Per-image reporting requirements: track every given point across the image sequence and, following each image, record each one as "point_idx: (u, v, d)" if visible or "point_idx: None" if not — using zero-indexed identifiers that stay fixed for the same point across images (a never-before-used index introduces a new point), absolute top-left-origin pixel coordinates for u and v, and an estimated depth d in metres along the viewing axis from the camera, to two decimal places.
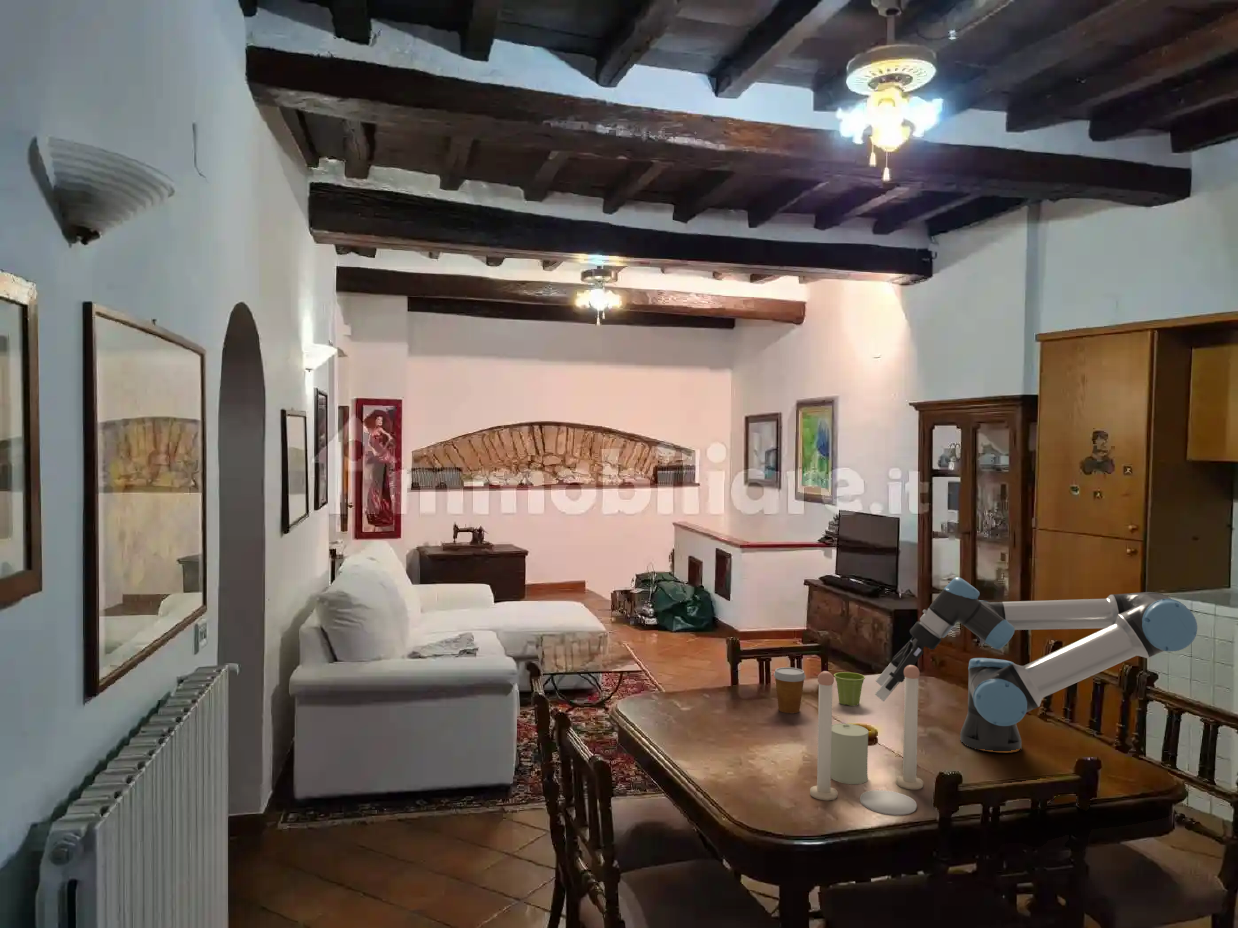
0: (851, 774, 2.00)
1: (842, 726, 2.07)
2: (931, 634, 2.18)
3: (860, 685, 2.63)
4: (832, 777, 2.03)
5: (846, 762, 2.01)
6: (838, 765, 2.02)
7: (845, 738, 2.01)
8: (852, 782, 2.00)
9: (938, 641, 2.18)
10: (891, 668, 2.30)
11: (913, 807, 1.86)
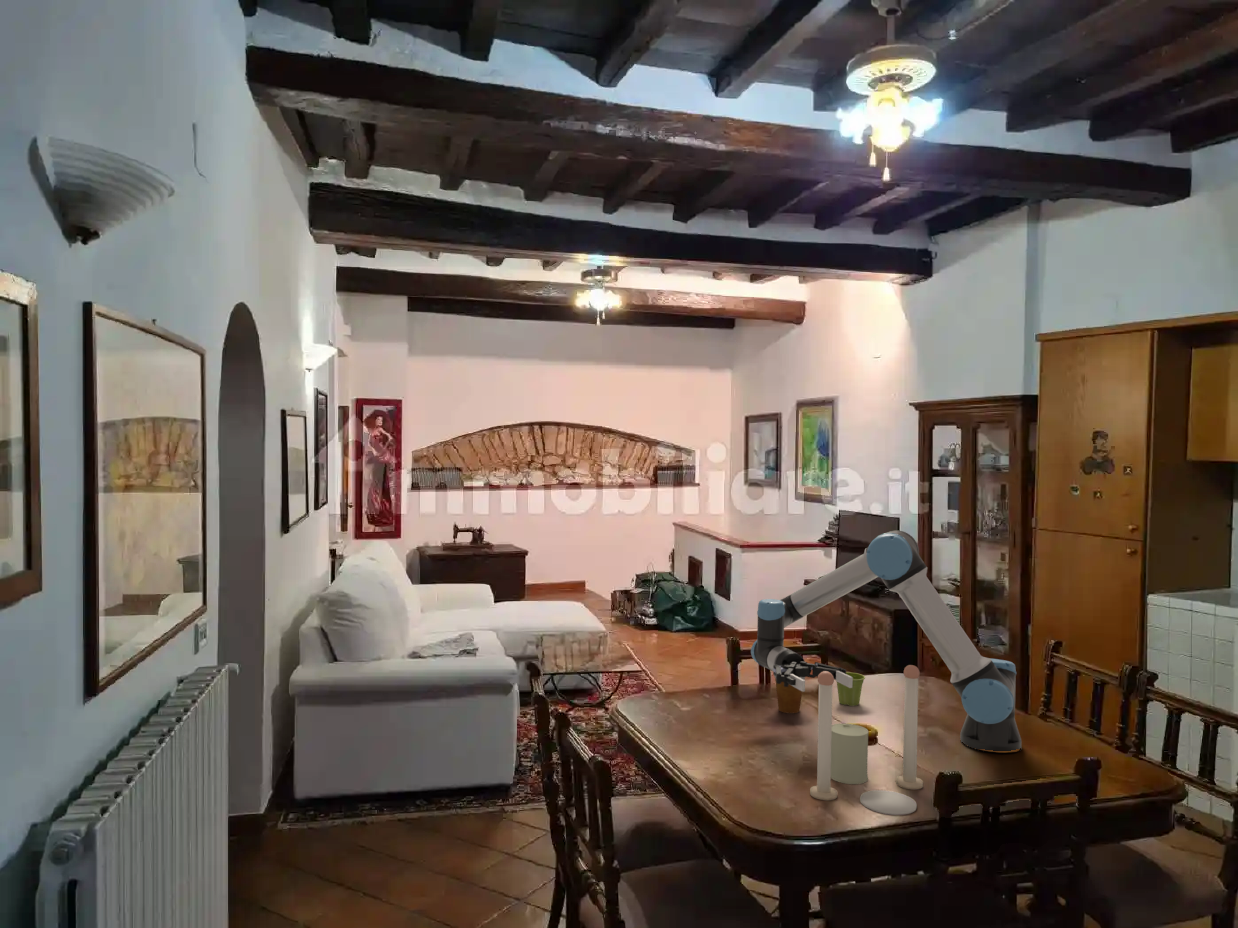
0: (851, 774, 2.00)
1: (842, 726, 2.07)
2: None
3: (860, 685, 2.63)
4: (832, 777, 2.03)
5: (846, 762, 2.01)
6: (838, 765, 2.02)
7: (845, 738, 2.01)
8: (852, 782, 2.00)
9: (781, 653, 2.32)
10: (838, 678, 2.21)
11: (913, 807, 1.86)
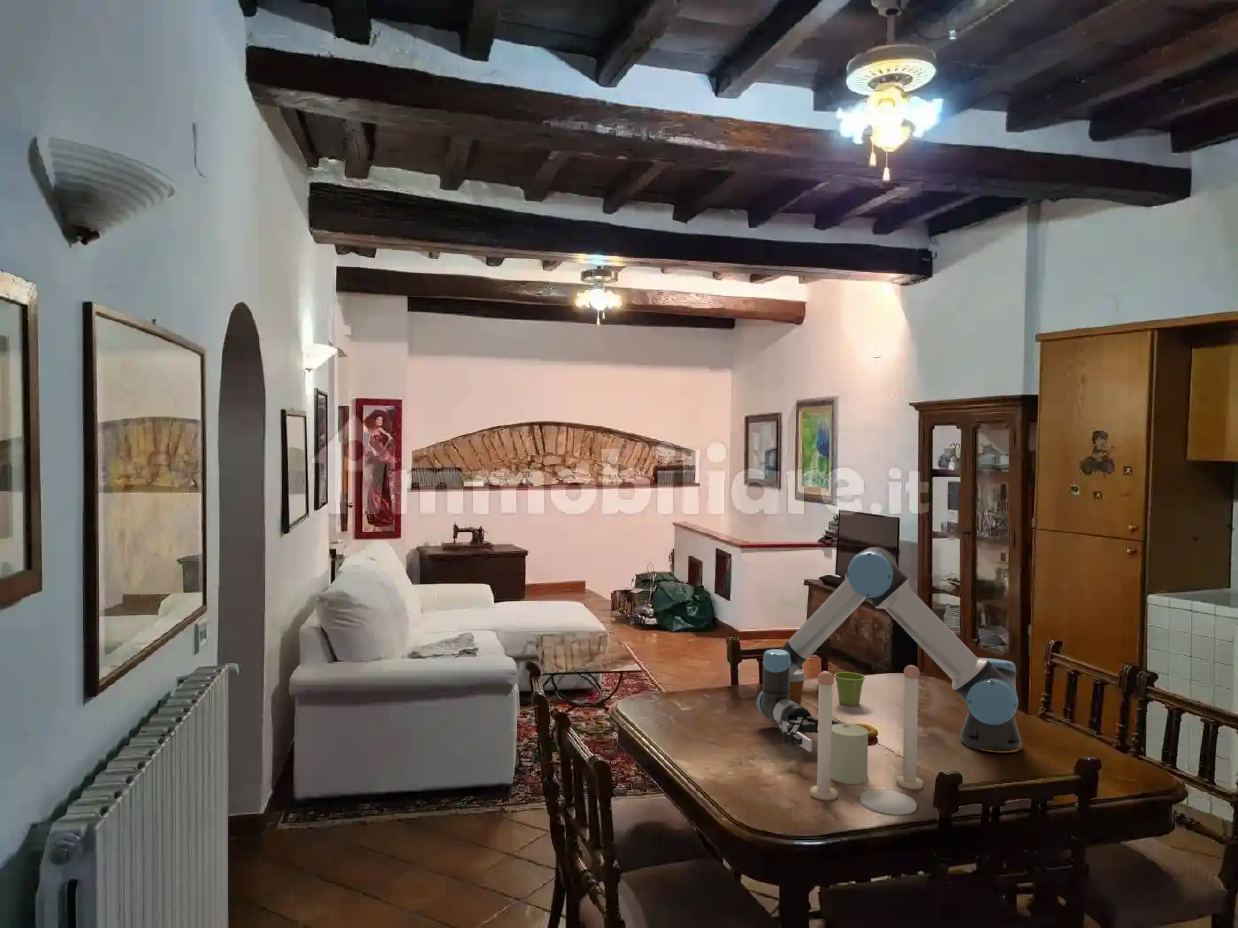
0: (851, 774, 2.00)
1: (842, 726, 2.07)
2: None
3: (860, 685, 2.63)
4: (832, 777, 2.03)
5: (846, 762, 2.01)
6: (838, 765, 2.02)
7: (845, 738, 2.01)
8: (852, 782, 2.00)
9: (787, 707, 2.28)
10: None
11: (913, 807, 1.86)
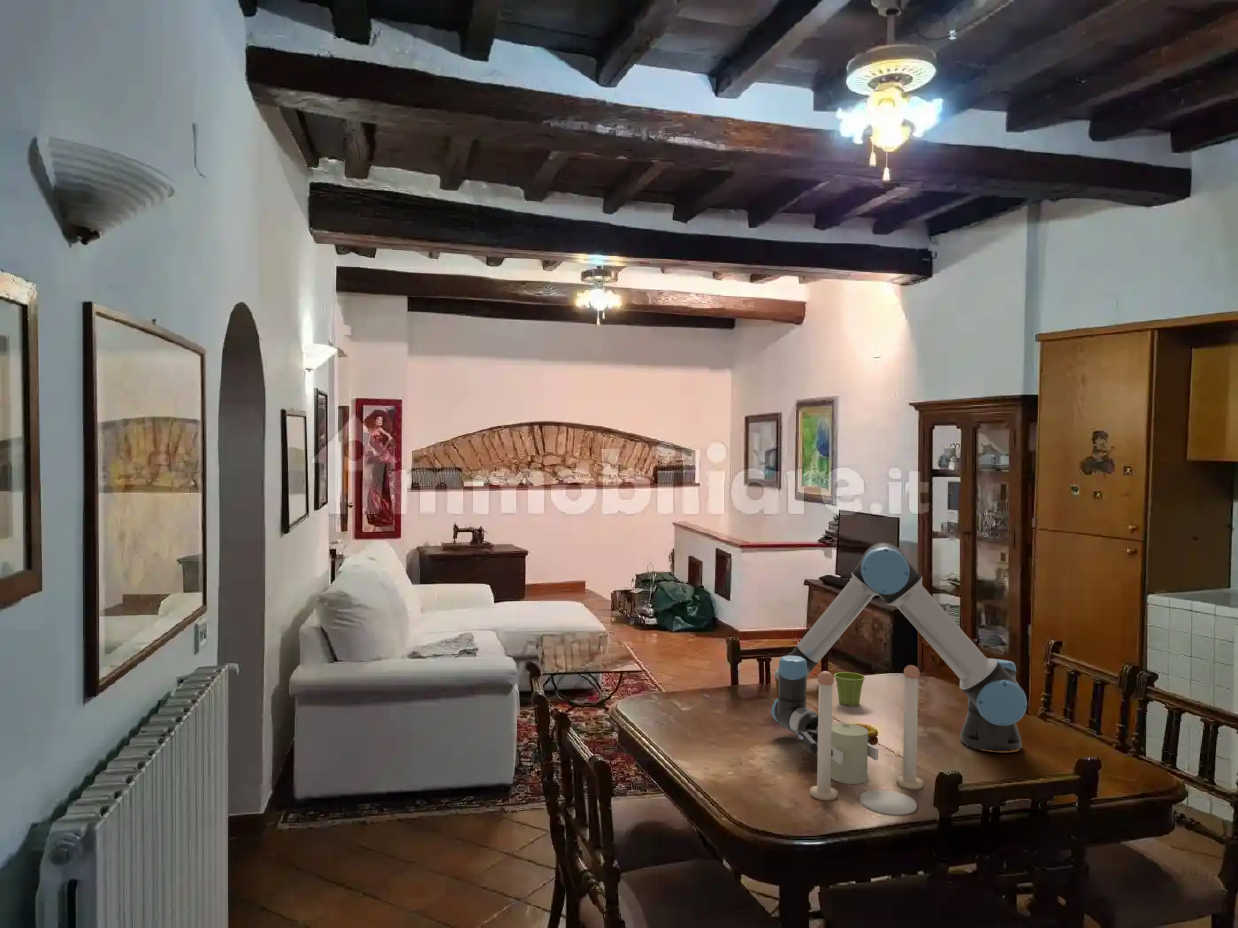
0: (851, 774, 2.00)
1: (842, 726, 2.07)
2: None
3: (860, 685, 2.63)
4: (832, 777, 2.03)
5: (846, 761, 2.01)
6: (838, 765, 2.02)
7: (845, 738, 2.01)
8: (852, 782, 2.00)
9: (804, 716, 2.20)
10: None
11: (913, 807, 1.86)
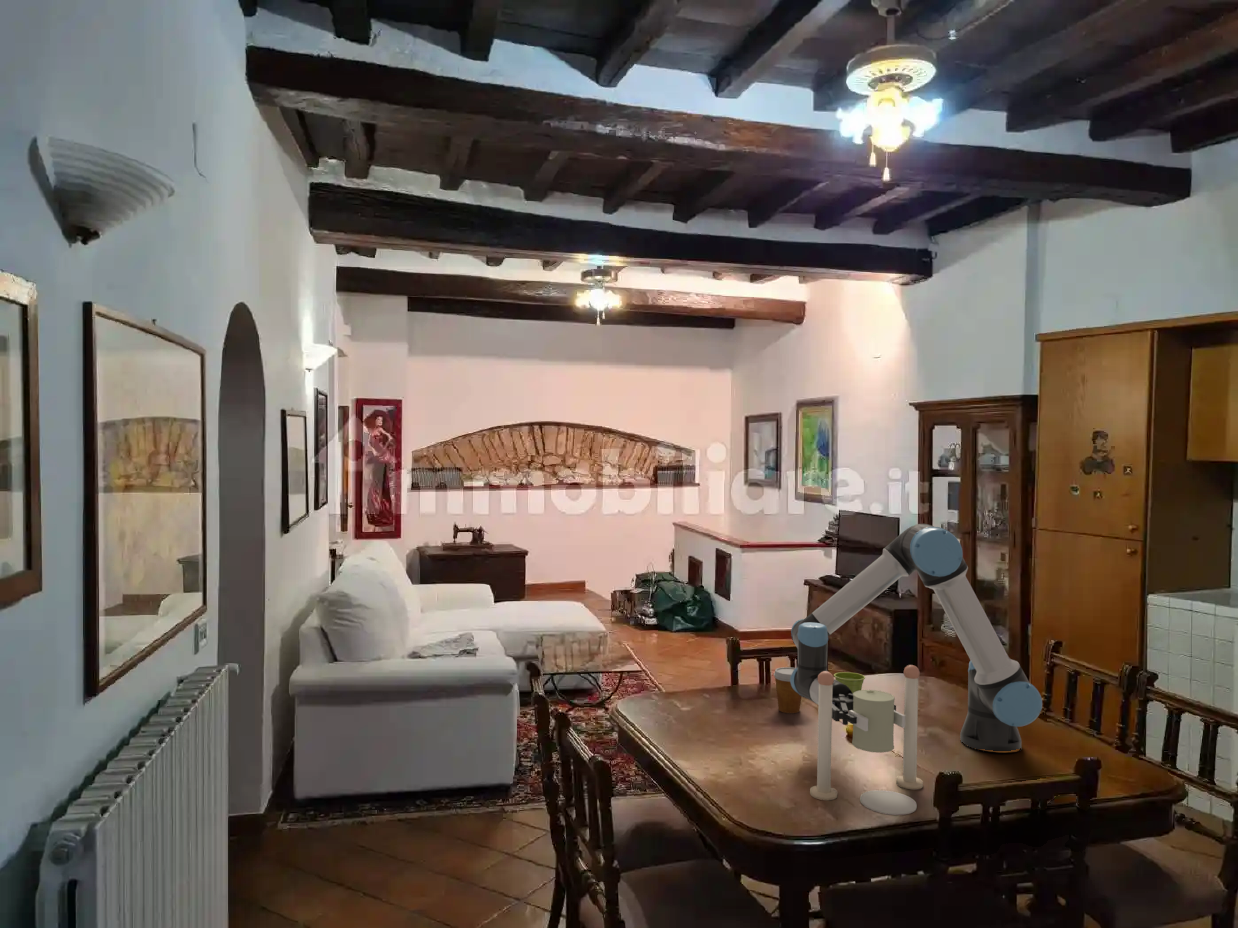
0: (877, 742, 1.89)
1: (866, 692, 1.96)
2: None
3: (860, 685, 2.63)
4: (856, 746, 1.92)
5: (871, 729, 1.90)
6: (863, 733, 1.91)
7: (870, 704, 1.90)
8: (878, 750, 1.89)
9: None
10: None
11: (913, 807, 1.86)
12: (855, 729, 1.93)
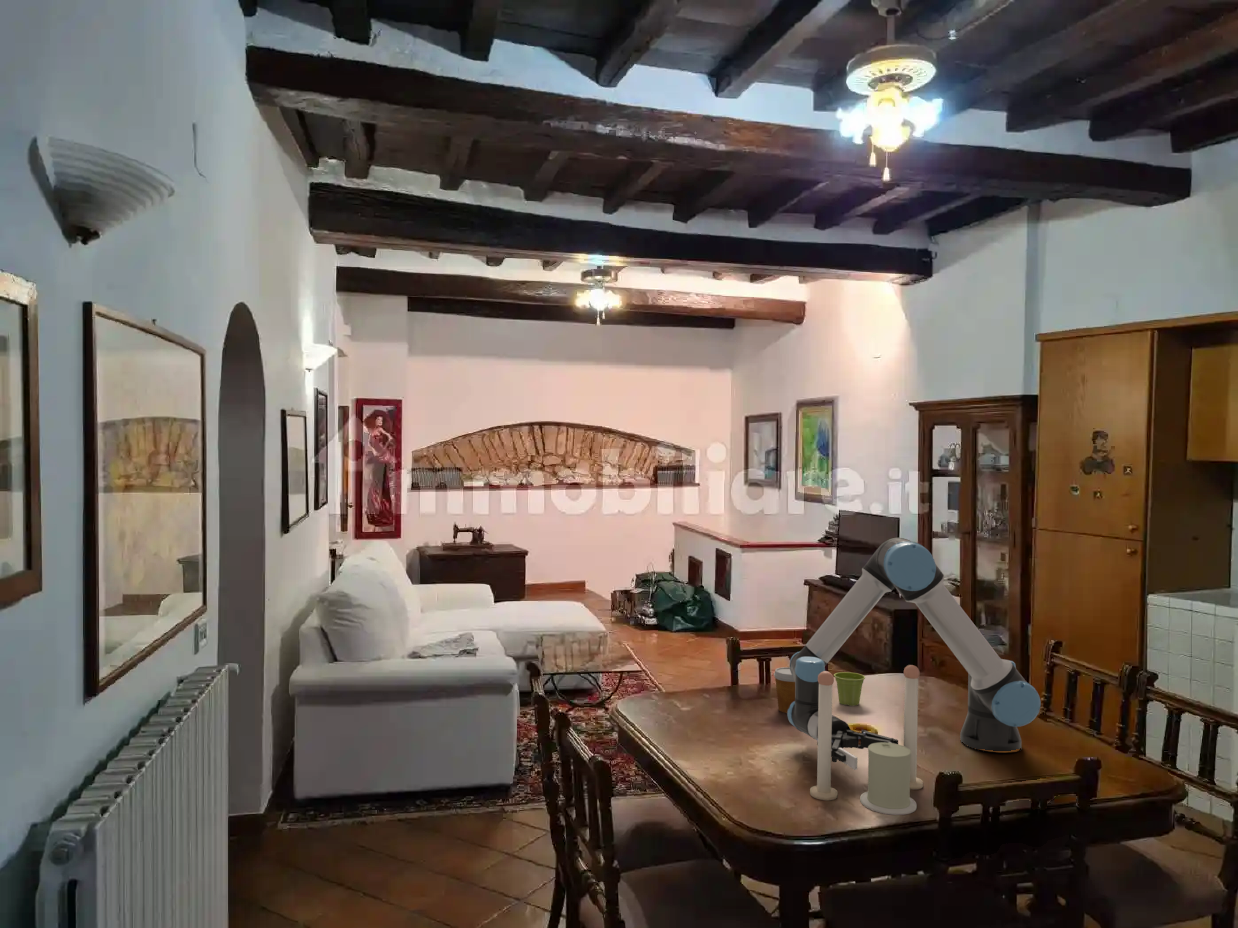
0: (893, 798, 1.85)
1: (881, 745, 1.92)
2: None
3: (860, 685, 2.63)
4: (872, 801, 1.88)
5: (887, 784, 1.85)
6: (878, 788, 1.86)
7: (886, 759, 1.85)
8: (894, 807, 1.85)
9: None
10: None
11: (913, 807, 1.86)
12: (870, 784, 1.88)
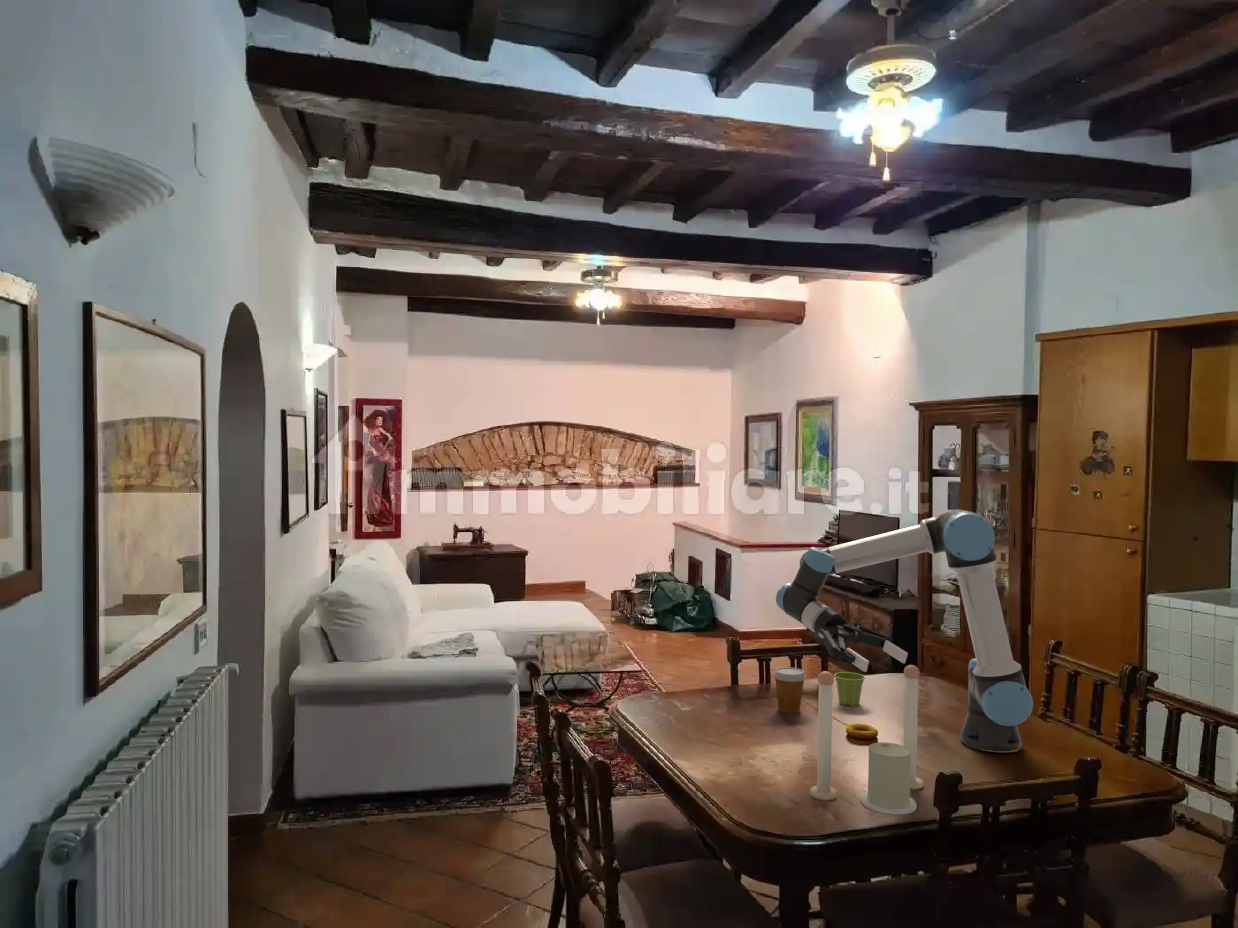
0: (893, 798, 1.85)
1: (882, 745, 1.92)
2: (815, 621, 2.17)
3: (860, 685, 2.63)
4: (871, 801, 1.88)
5: (887, 784, 1.85)
6: (879, 788, 1.86)
7: (886, 759, 1.85)
8: (894, 806, 1.85)
9: (822, 613, 2.16)
10: (886, 648, 2.10)
11: (913, 807, 1.86)
12: (870, 784, 1.89)
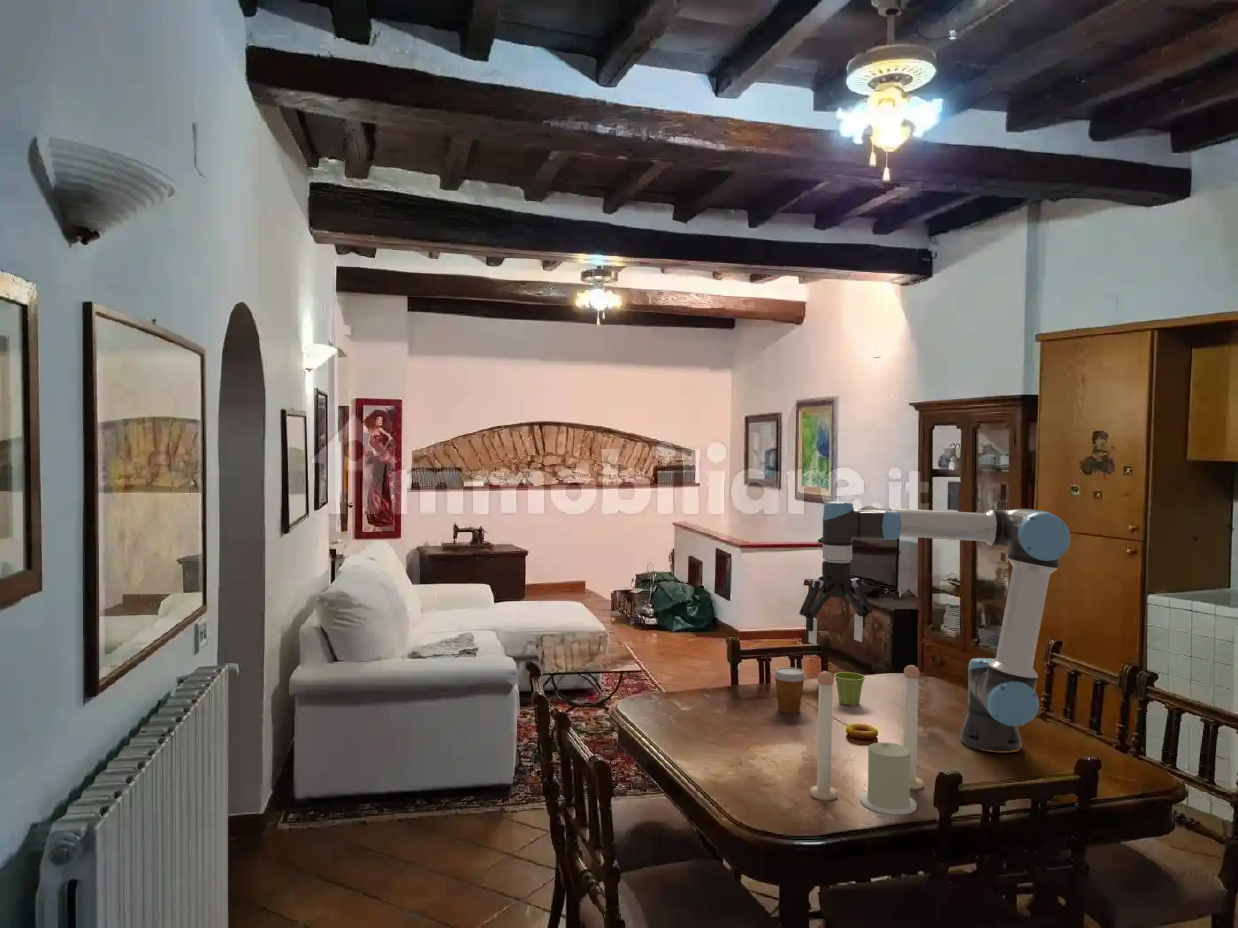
0: (893, 798, 1.85)
1: (881, 745, 1.92)
2: (826, 563, 2.20)
3: (860, 685, 2.63)
4: (871, 801, 1.88)
5: (887, 784, 1.85)
6: (878, 788, 1.86)
7: (886, 759, 1.85)
8: (894, 807, 1.85)
9: (835, 566, 2.18)
10: (856, 619, 2.24)
11: (913, 807, 1.86)
12: (870, 784, 1.89)
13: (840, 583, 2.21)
